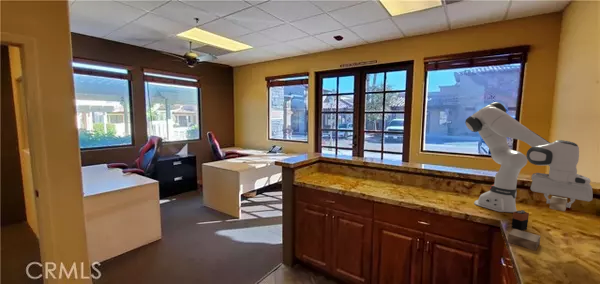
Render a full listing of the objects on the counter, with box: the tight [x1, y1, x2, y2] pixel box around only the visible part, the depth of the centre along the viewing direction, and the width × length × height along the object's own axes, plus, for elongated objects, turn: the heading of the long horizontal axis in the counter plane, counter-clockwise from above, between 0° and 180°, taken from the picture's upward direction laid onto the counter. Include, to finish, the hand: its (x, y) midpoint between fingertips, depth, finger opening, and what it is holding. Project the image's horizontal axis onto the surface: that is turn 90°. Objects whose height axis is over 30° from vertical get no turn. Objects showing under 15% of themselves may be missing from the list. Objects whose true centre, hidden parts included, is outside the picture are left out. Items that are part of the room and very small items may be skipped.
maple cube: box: [549, 195, 568, 212], centre depth 121 cm, size 5×5×5 cm
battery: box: [511, 209, 530, 231], centre depth 139 cm, size 4×7×10 cm, turn 116°
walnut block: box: [507, 228, 541, 252], centre depth 123 cm, size 10×10×4 cm
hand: (558, 205), depth 121 cm, fingers closed on maple cube, 5 cm apart
